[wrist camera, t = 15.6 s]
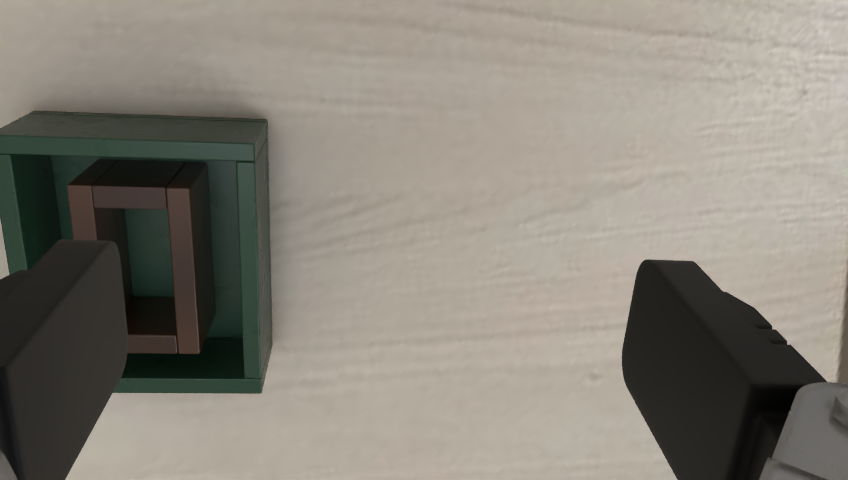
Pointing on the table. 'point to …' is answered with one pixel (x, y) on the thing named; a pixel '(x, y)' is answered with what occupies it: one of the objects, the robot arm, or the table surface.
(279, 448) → the table surface
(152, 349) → the frame
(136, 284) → the holder
